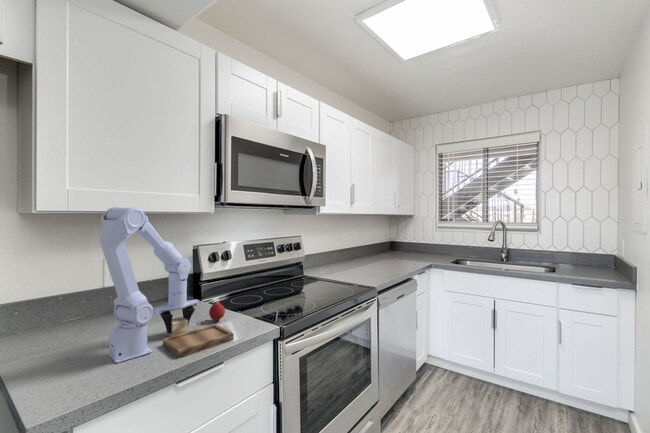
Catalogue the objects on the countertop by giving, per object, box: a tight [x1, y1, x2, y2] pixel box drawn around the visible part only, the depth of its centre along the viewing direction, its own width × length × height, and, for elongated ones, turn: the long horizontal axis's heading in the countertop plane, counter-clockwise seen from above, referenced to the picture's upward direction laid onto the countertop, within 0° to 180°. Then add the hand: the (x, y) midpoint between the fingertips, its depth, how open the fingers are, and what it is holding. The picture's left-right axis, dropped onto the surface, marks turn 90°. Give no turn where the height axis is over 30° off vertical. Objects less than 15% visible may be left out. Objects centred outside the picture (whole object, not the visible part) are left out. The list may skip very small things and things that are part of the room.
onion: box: [208, 300, 226, 322], centre depth 121 cm, size 6×6×8 cm
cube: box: [166, 316, 189, 337], centre depth 108 cm, size 5×5×5 cm
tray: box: [162, 324, 234, 359], centre depth 101 cm, size 18×12×2 cm, turn 138°
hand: (177, 330), depth 108 cm, fingers closed on cube, 5 cm apart
